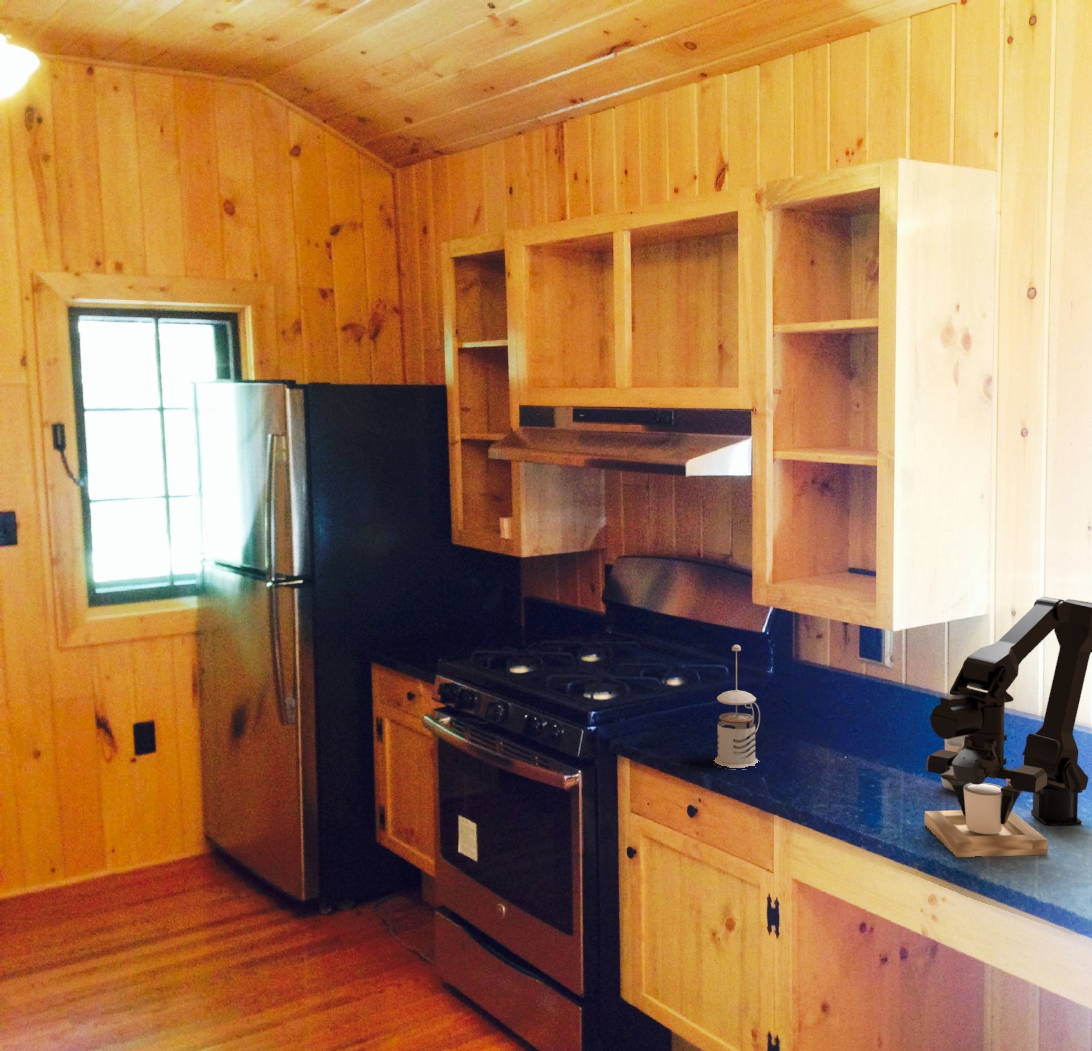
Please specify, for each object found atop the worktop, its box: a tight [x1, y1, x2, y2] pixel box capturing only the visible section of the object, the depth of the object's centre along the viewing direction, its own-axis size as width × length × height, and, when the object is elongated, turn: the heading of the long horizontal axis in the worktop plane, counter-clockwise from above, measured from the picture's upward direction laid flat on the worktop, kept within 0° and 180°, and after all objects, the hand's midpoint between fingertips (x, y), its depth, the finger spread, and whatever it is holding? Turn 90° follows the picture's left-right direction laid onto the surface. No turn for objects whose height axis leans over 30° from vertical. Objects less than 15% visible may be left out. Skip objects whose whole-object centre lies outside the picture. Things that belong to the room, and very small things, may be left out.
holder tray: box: [924, 809, 1049, 858], centre depth 200 cm, size 15×15×2 cm
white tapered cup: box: [963, 782, 1003, 834], centre depth 200 cm, size 7×7×7 cm
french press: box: [713, 644, 761, 768], centre depth 245 cm, size 10×12×25 cm
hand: (984, 819), depth 200 cm, fingers closed on white tapered cup, 6 cm apart
